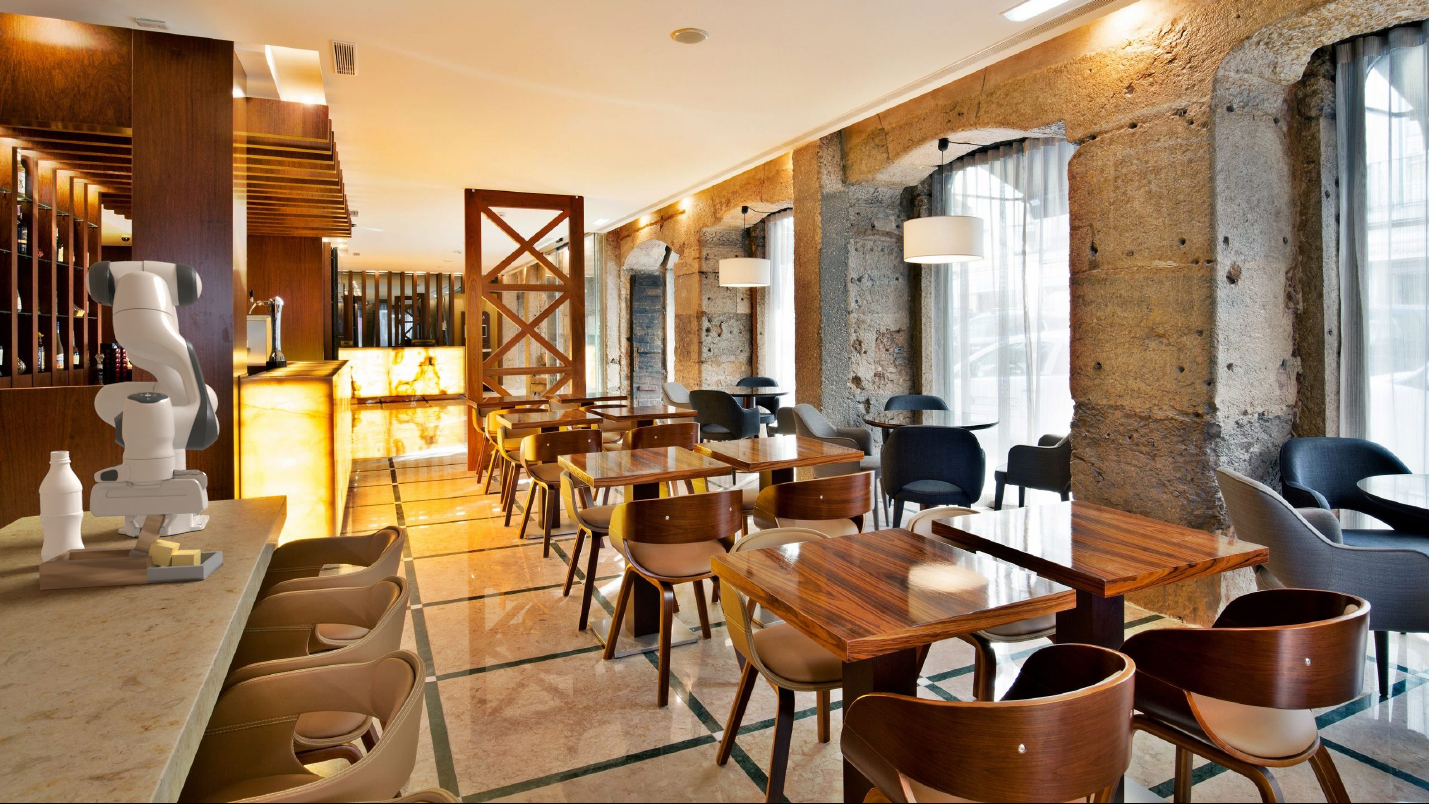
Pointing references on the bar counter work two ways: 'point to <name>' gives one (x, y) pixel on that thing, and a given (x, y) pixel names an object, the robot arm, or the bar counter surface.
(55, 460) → the water bottle
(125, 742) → the bar counter surface
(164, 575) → the tray
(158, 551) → the pale yellow block
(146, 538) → the wooden post on base
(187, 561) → the pale yellow cube
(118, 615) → the bar counter surface
